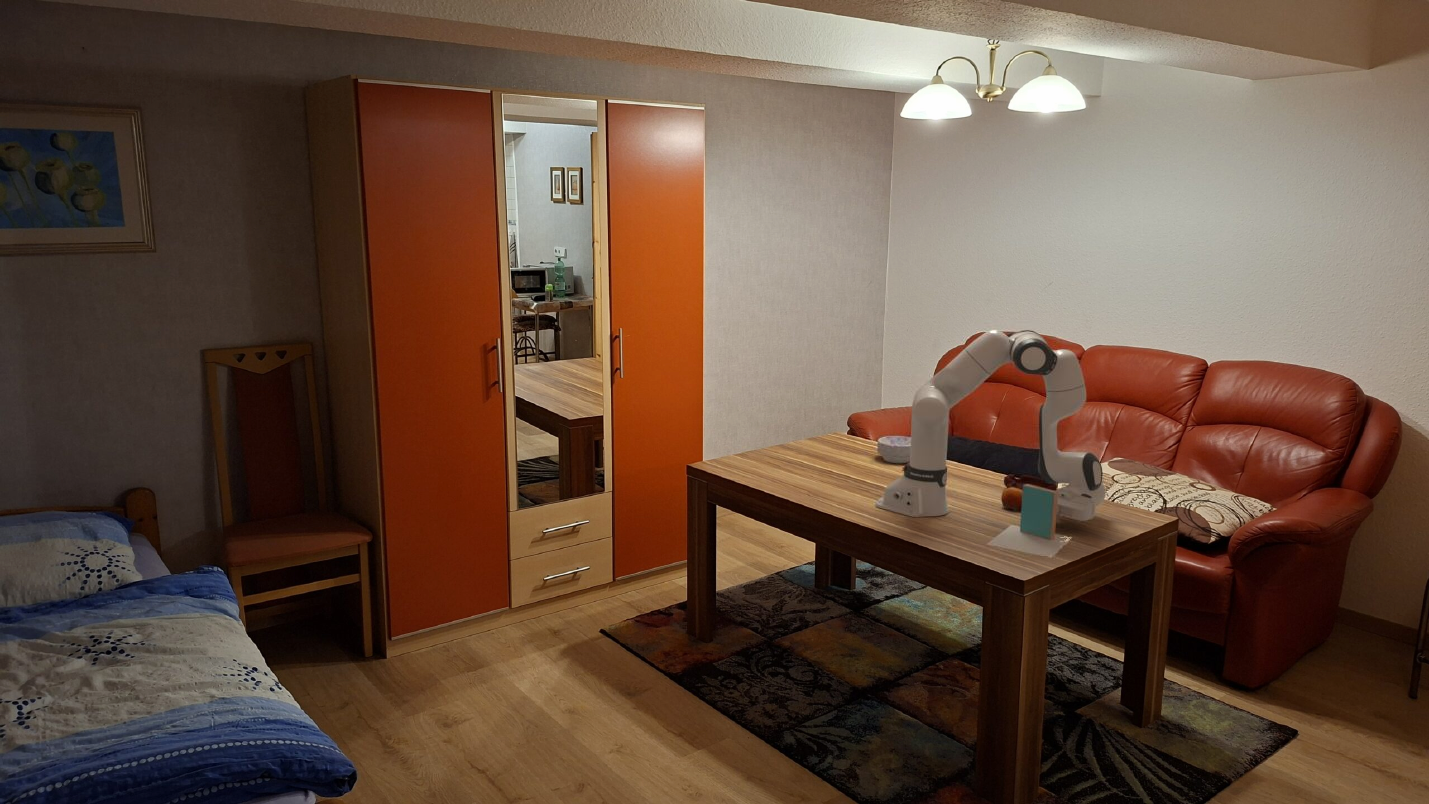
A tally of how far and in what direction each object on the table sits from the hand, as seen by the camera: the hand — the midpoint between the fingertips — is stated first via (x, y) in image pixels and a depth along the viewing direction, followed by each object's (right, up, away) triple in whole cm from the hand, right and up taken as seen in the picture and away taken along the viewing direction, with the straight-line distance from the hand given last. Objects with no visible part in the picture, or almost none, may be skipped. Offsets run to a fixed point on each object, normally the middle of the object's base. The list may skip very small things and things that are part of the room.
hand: (1042, 510), depth 276 cm
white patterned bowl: (-26, +9, +83) cm, 88 cm away
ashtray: (+10, 0, +40) cm, 41 cm away
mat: (-5, -8, -5) cm, 11 cm away
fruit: (0, -3, +26) cm, 26 cm away
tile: (-2, -7, 0) cm, 7 cm away
